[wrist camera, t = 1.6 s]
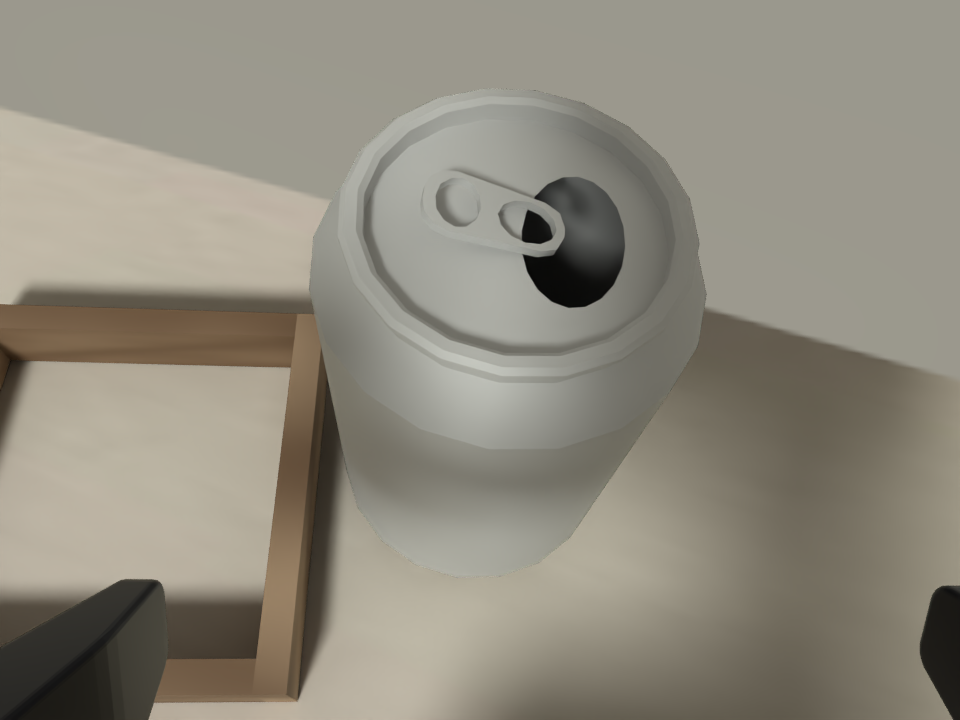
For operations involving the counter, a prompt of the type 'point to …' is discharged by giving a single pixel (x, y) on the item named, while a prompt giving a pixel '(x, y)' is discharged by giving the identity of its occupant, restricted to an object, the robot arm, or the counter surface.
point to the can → (500, 320)
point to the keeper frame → (279, 345)
